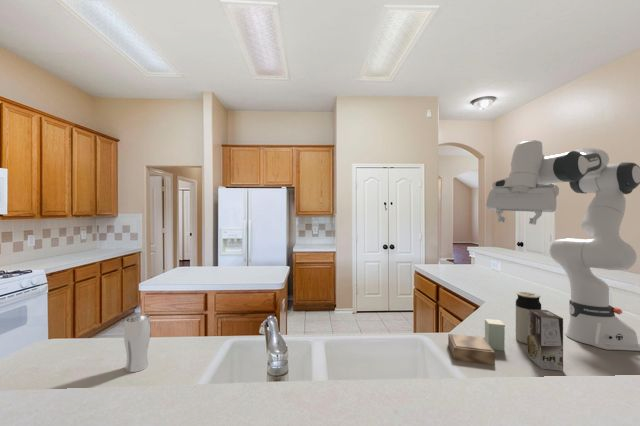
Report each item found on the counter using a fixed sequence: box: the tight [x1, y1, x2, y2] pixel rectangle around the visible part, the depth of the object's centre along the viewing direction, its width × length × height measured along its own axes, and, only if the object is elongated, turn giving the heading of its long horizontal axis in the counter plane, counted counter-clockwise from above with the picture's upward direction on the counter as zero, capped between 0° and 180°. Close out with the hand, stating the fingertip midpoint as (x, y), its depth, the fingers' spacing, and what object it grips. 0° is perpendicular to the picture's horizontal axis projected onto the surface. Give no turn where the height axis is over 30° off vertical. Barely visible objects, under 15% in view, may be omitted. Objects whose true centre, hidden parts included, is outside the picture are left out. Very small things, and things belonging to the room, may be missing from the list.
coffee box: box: [527, 309, 564, 372], centre depth 95 cm, size 9×6×16 cm
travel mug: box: [515, 291, 542, 345], centre depth 112 cm, size 8×8×18 cm
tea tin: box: [484, 318, 506, 351], centre depth 107 cm, size 5×5×9 cm
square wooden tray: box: [447, 333, 496, 366], centre depth 101 cm, size 12×12×4 cm
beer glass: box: [123, 314, 152, 373], centre depth 90 cm, size 7×7×15 cm
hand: (516, 223), depth 101 cm, fingers open, 8 cm apart
